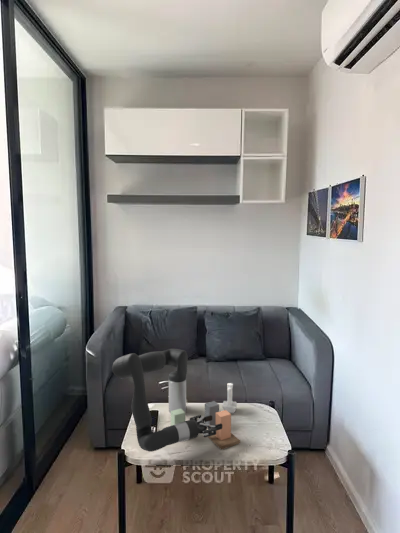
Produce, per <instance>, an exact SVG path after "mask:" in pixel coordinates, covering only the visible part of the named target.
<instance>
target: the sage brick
mask: <svg viewBox="0 0 400 533" xmlns="http://www.w3.org/2000/svg"><path fill="white" fill-rule="evenodd" d="M184 421H186V412H184V411H183V410H182V409H177V410H174V411H171V413H170V426H172V425H175V424H177V423H181V422H184Z"/></svg>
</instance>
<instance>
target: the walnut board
mask: <svg viewBox="0 0 400 533" xmlns="http://www.w3.org/2000/svg"><path fill="white" fill-rule="evenodd" d="M212 433H213V432H212ZM207 438H208V439H209V440H210V441H211V442H212V443H213V444H214V445H216V446H217V447H218V448H219V449H220V450H225V449H229V448H231V447H233V446H236V444H237V445H239V443H240V444H241V439H239V438H238V437H237V436H236V435H235V434H233V433H232V432H231V437H230V438H227V439H224V440H220V439H219V438H218V437H216V436H215V435H212V436H208V437H207Z"/></svg>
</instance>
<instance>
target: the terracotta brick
mask: <svg viewBox="0 0 400 533" xmlns="http://www.w3.org/2000/svg"><path fill="white" fill-rule="evenodd" d="M220 423H221V424H222V429H220V430H217V431H216V435H215V436H216V437H218V438H219V439H220V440H224V439H227V438H230V437H231V433H232V413H229V412H228V411H226V410H224V409H223V410H221V411H220V410H219V412H216V425H217V424H220Z"/></svg>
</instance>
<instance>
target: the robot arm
mask: <svg viewBox="0 0 400 533" xmlns="http://www.w3.org/2000/svg"><path fill="white" fill-rule="evenodd" d="M165 366H169V367H172V368H173V367H175V368H176V370H174V371H171V372H169V374H168V412H169V413H170V414H171V411H174V410H177V409H182V410H183V411H184V412H185V413H186V411H187V374H188V352H187V350H185V349H180V348H168V349H166V350H163V351H160V350H159V351H149V352H145V353H142V354H139V355H138V354H136V353H134V352H133V353H129V354H125V355H122V356H120V357H118V358H116V359H115V360H114V361H113V363H112V366H111V371H112V373H113V374H114V376H115V377H116V378H118V379H120V380H121V379H122V380H124V379H125V380H126V379H128V378H132V381H133V394H132V400H131V413H132V416H133V421H134V424H135V427H136V428H135V430H136V437H137V443H138V445H139V448H141V450H142V451H146V452H149V453H151V452H155V451H159V450H161V449H163V448H165V447H167V446H170V445H174V444H176V443H178V444H179V443H183V442H186V441H190V440H192V439H196V438H198V436H199V435H200V434H202V435H203V437H204V438H208V436H212V435H216V431H217V430H220V429H222V424H221V423H220V424H217V425H214V426H213V425H210V424H206V423H205V422H207V421H211V420H212V415H209V416H206V417H205V415H204V416H203V415H202V414H198V415H195V416H192V417H189V420H185V421H184V422H181V423H177V424H175V425H172V426H171V425H170V426H169V425H168V426H166V427H163V428H162V429H160V430H157V431H153V429H152V423H153V417H152V414H151V410H150V407H149V403H148V399H147V393H146V385H145V375H144V374H149V373H154V372H159V371H161V370H163V368H164V367H165ZM210 428H211V429H210ZM212 432H213V433H212Z"/></svg>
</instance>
